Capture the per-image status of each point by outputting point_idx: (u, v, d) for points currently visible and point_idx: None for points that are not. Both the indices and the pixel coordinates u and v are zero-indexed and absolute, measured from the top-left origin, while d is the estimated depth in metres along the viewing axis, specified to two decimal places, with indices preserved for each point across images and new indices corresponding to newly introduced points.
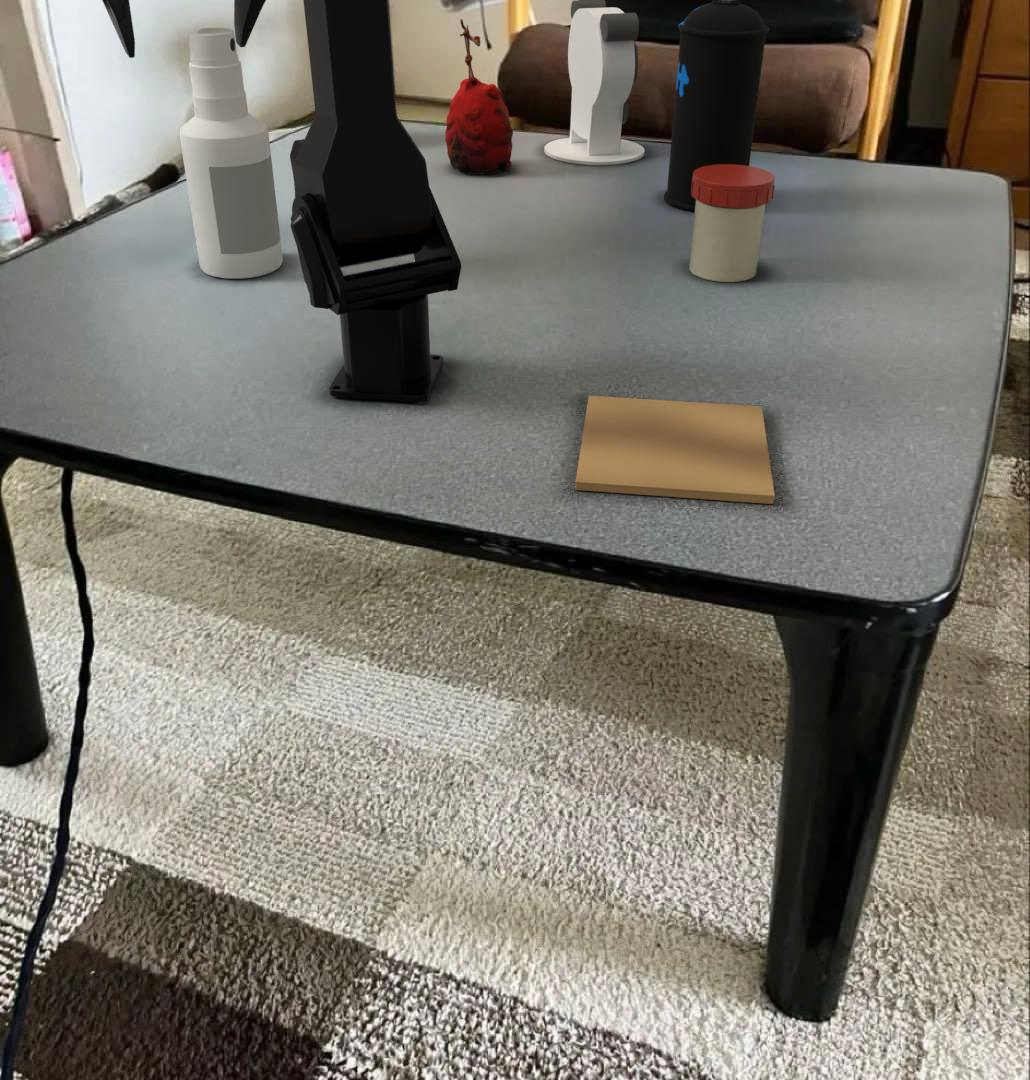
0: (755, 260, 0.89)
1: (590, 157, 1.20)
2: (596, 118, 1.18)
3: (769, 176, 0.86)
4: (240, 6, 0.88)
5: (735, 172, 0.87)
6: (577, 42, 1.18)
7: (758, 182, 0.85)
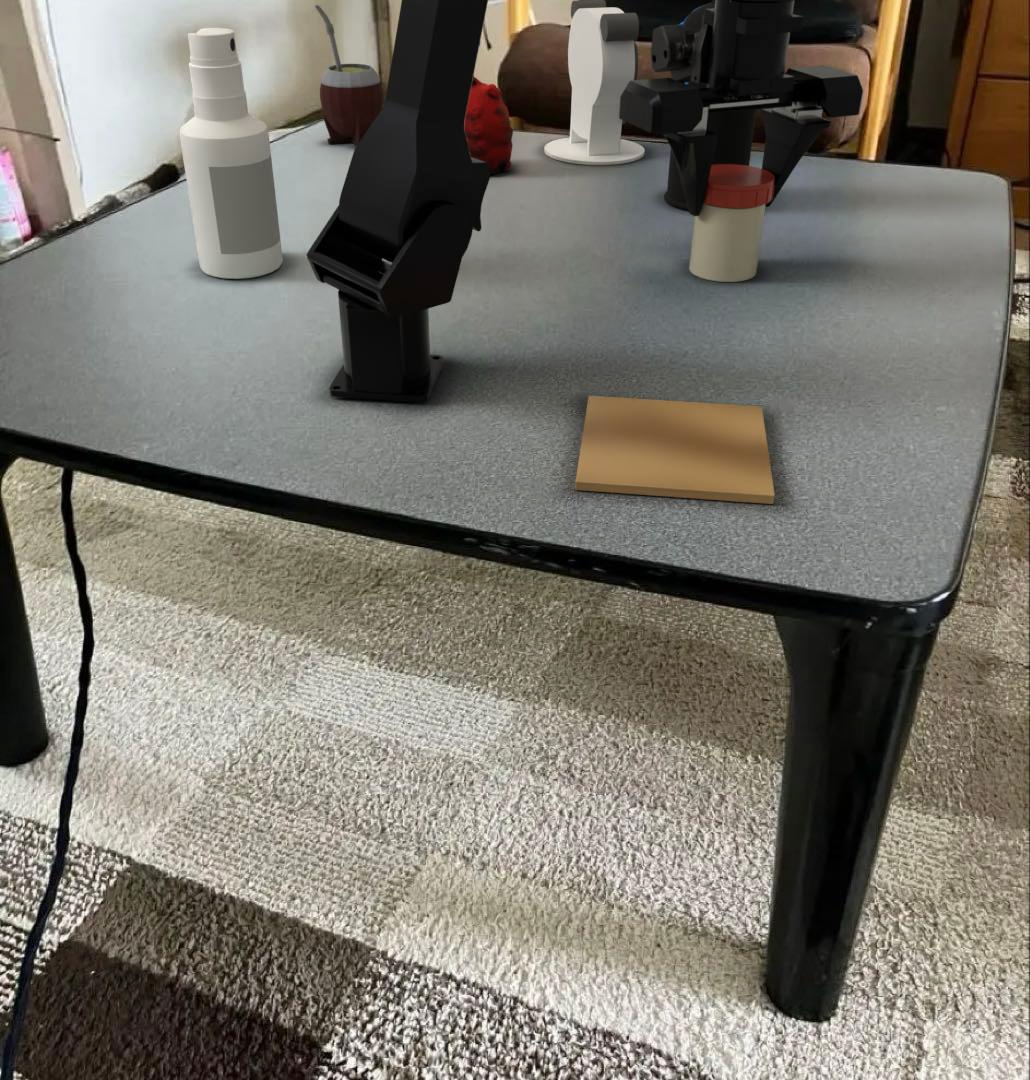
0: (755, 260, 0.89)
1: (590, 157, 1.20)
2: (596, 118, 1.18)
3: (769, 176, 0.86)
4: (771, 166, 0.87)
5: (735, 172, 0.87)
6: (577, 42, 1.18)
7: (758, 182, 0.85)
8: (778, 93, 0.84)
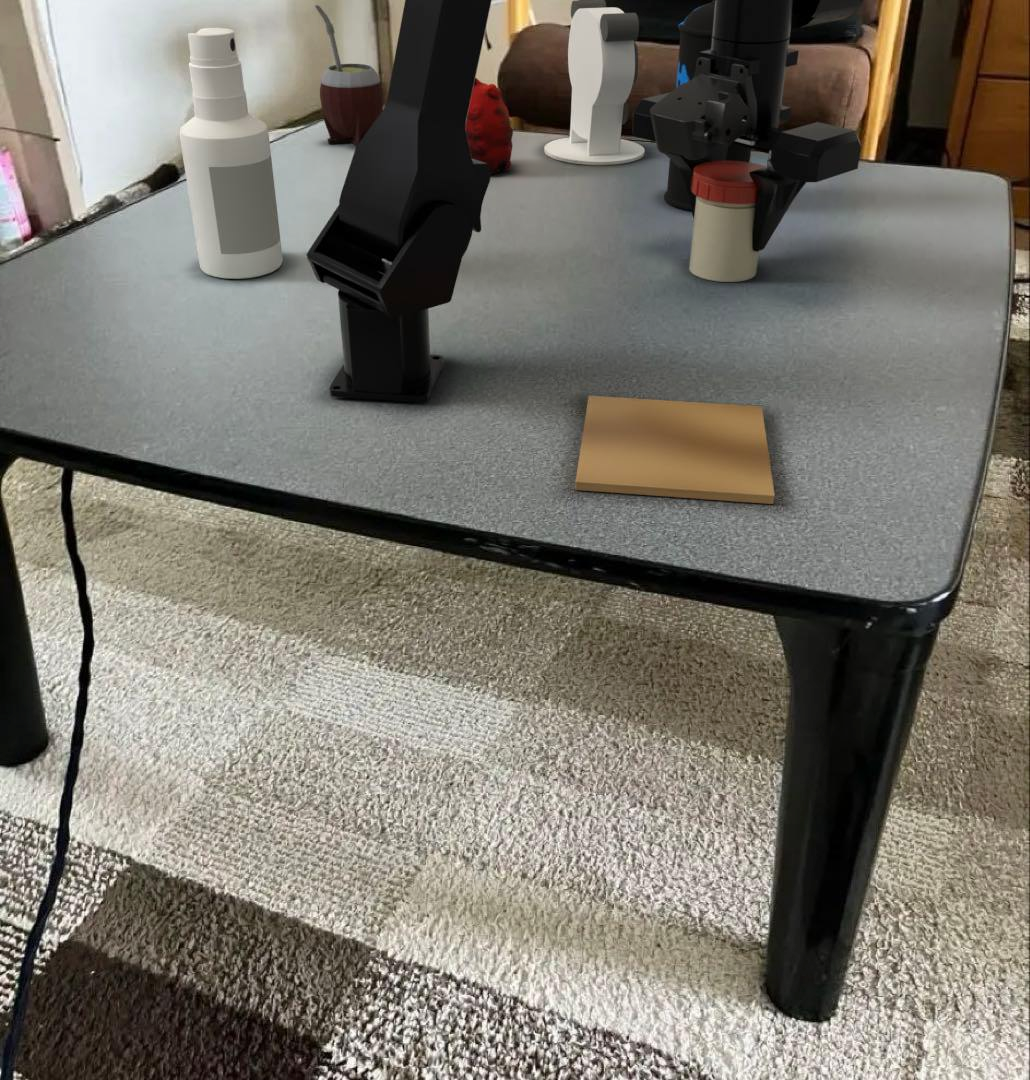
0: (755, 260, 0.89)
1: (590, 157, 1.20)
2: (596, 118, 1.18)
3: (723, 161, 0.89)
4: None
5: (725, 170, 0.86)
6: (577, 42, 1.18)
7: (749, 164, 0.88)
8: None
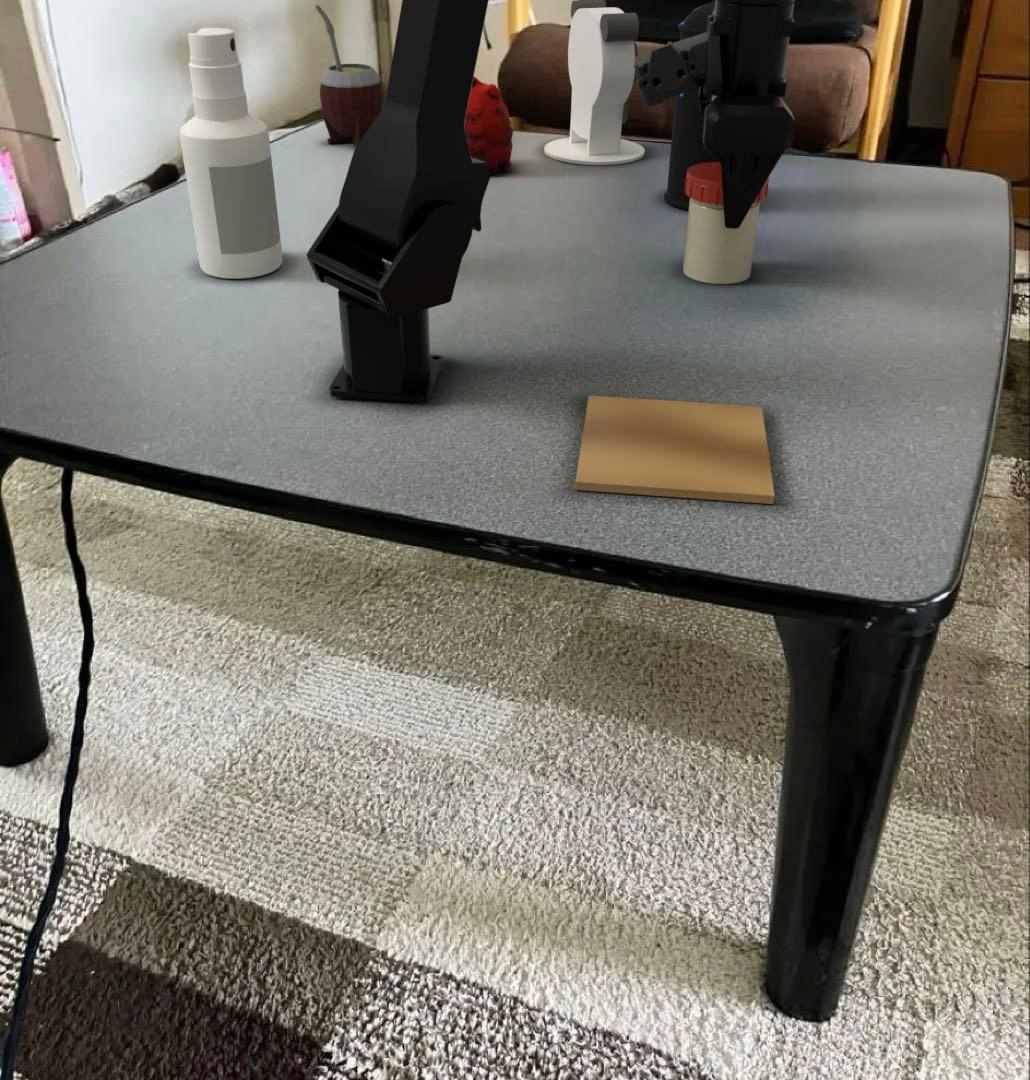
0: (749, 262, 0.88)
1: (590, 157, 1.20)
2: (596, 118, 1.18)
3: (717, 163, 0.88)
4: None
5: (719, 172, 0.86)
6: (577, 42, 1.18)
7: None
8: None
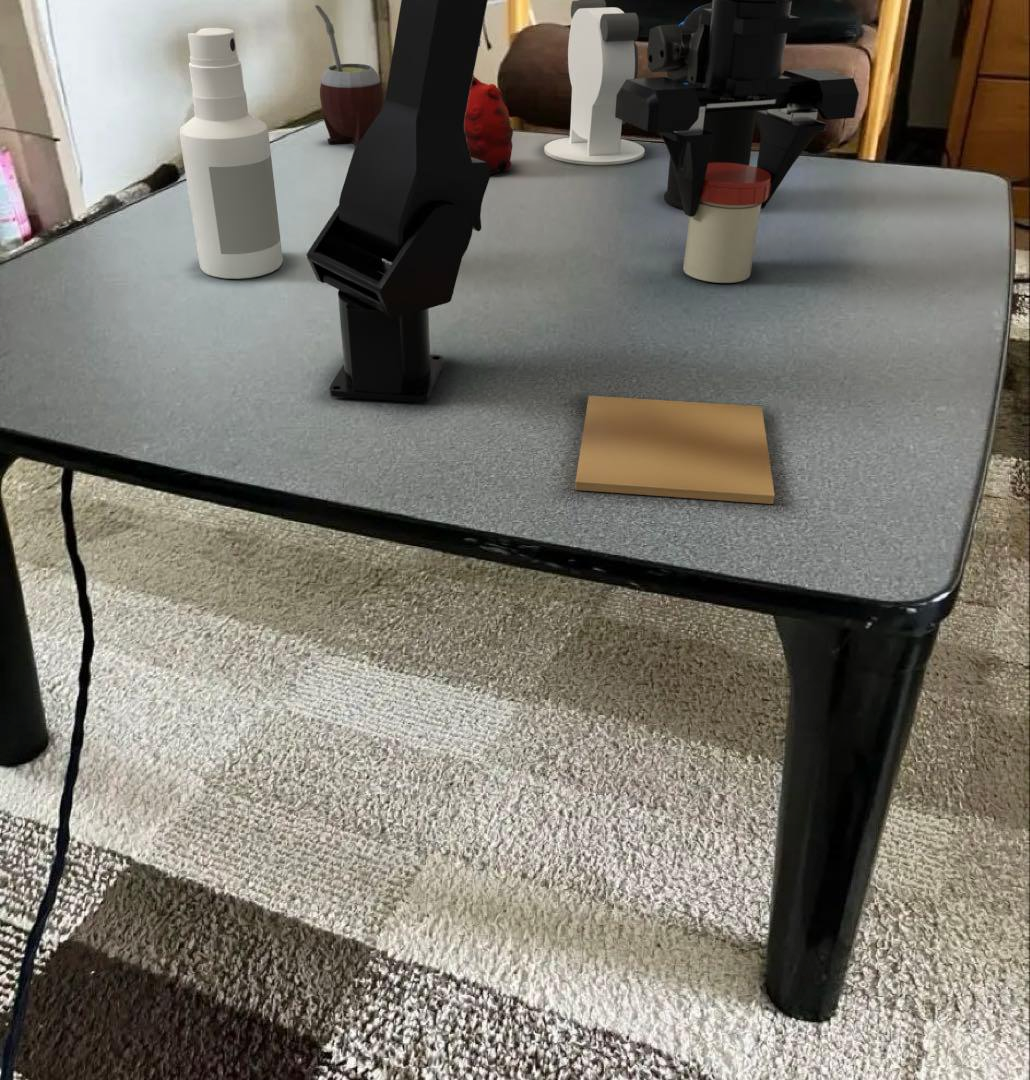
0: (749, 262, 0.88)
1: (590, 157, 1.20)
2: (596, 118, 1.18)
3: (741, 165, 0.88)
4: (766, 168, 0.87)
5: (722, 170, 0.86)
6: (577, 42, 1.18)
7: (760, 171, 0.87)
8: (773, 94, 0.84)
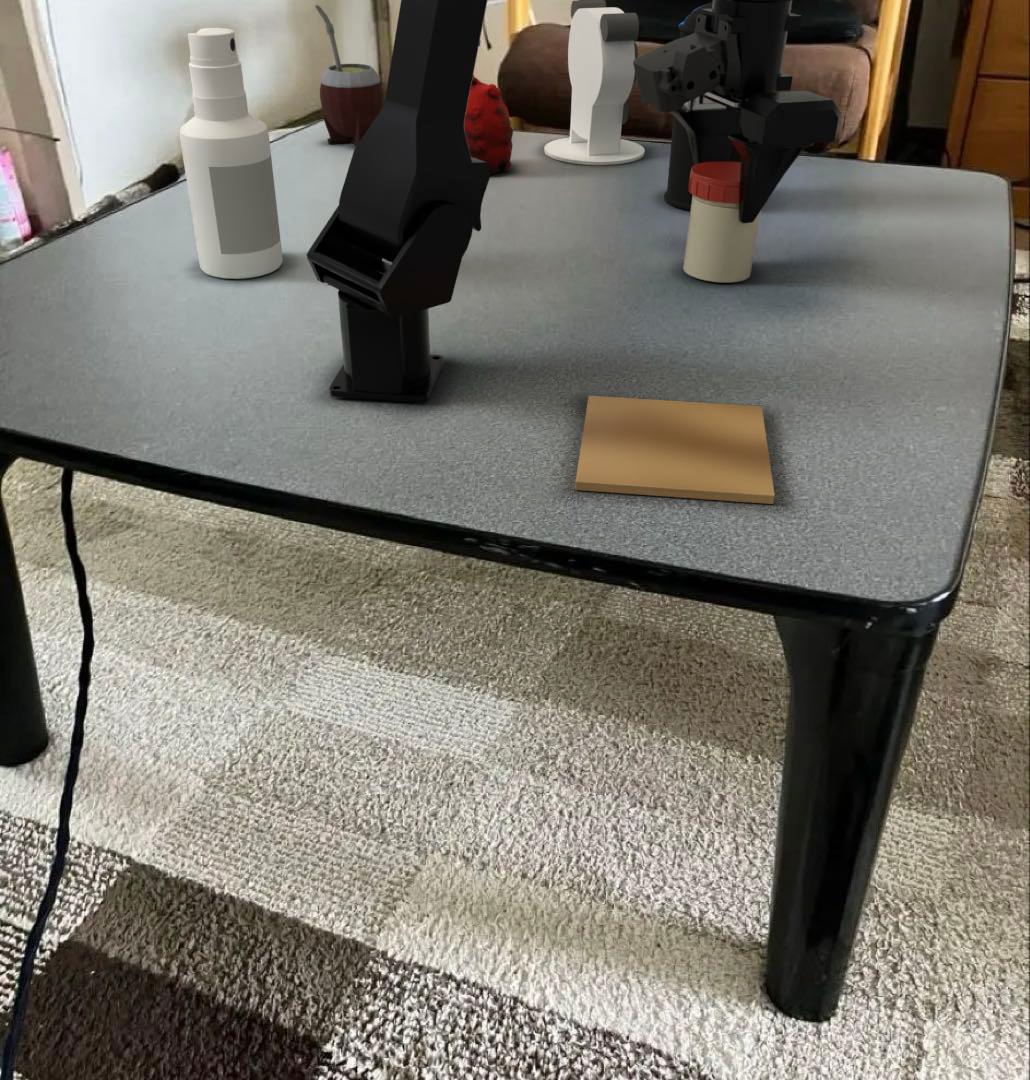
0: (749, 262, 0.88)
1: (590, 157, 1.20)
2: (596, 118, 1.18)
3: (699, 165, 0.87)
4: (713, 159, 0.89)
5: (727, 172, 0.86)
6: (577, 42, 1.18)
7: (719, 162, 0.88)
8: None
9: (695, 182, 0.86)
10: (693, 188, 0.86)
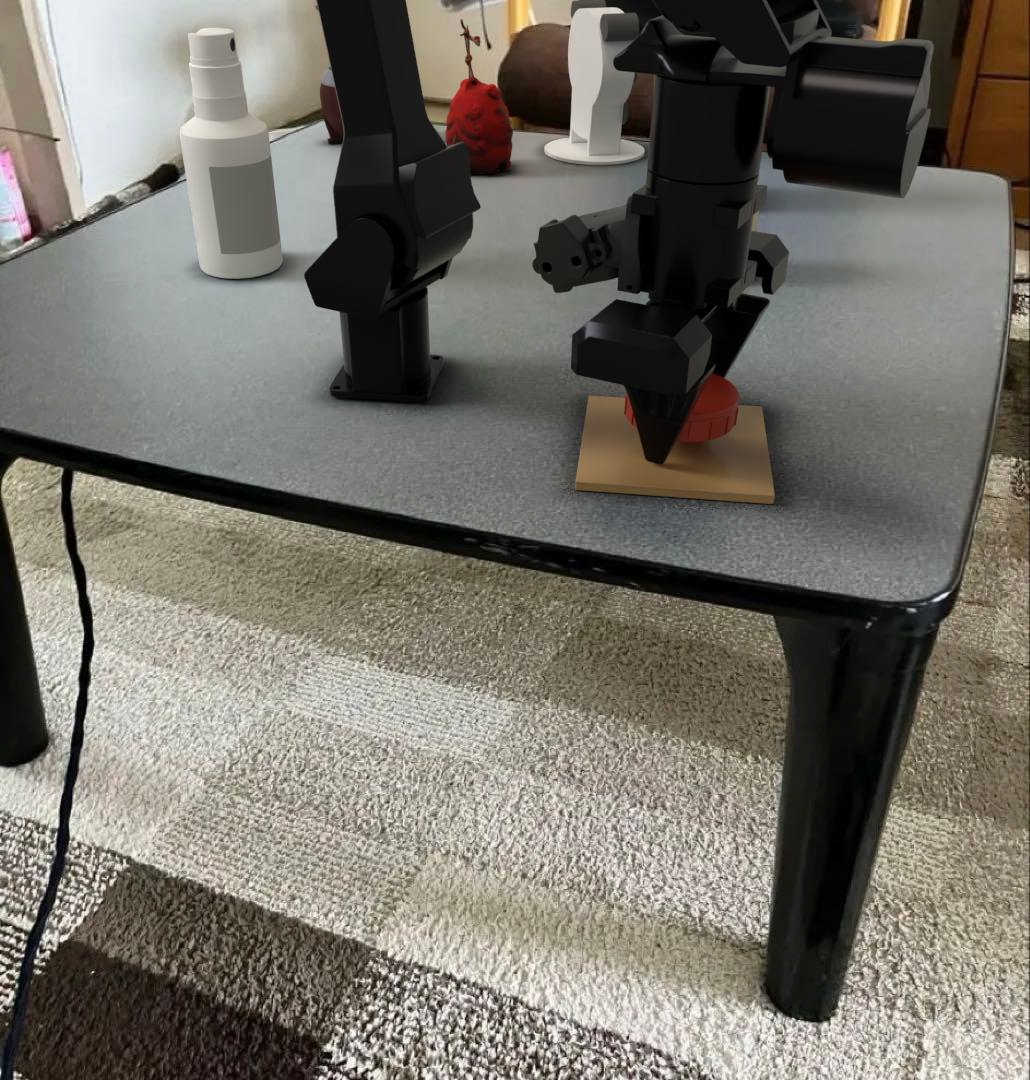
0: None
1: (590, 157, 1.20)
2: (596, 118, 1.18)
3: None
4: None
5: None
6: (577, 42, 1.18)
7: None
8: None
9: None
10: None
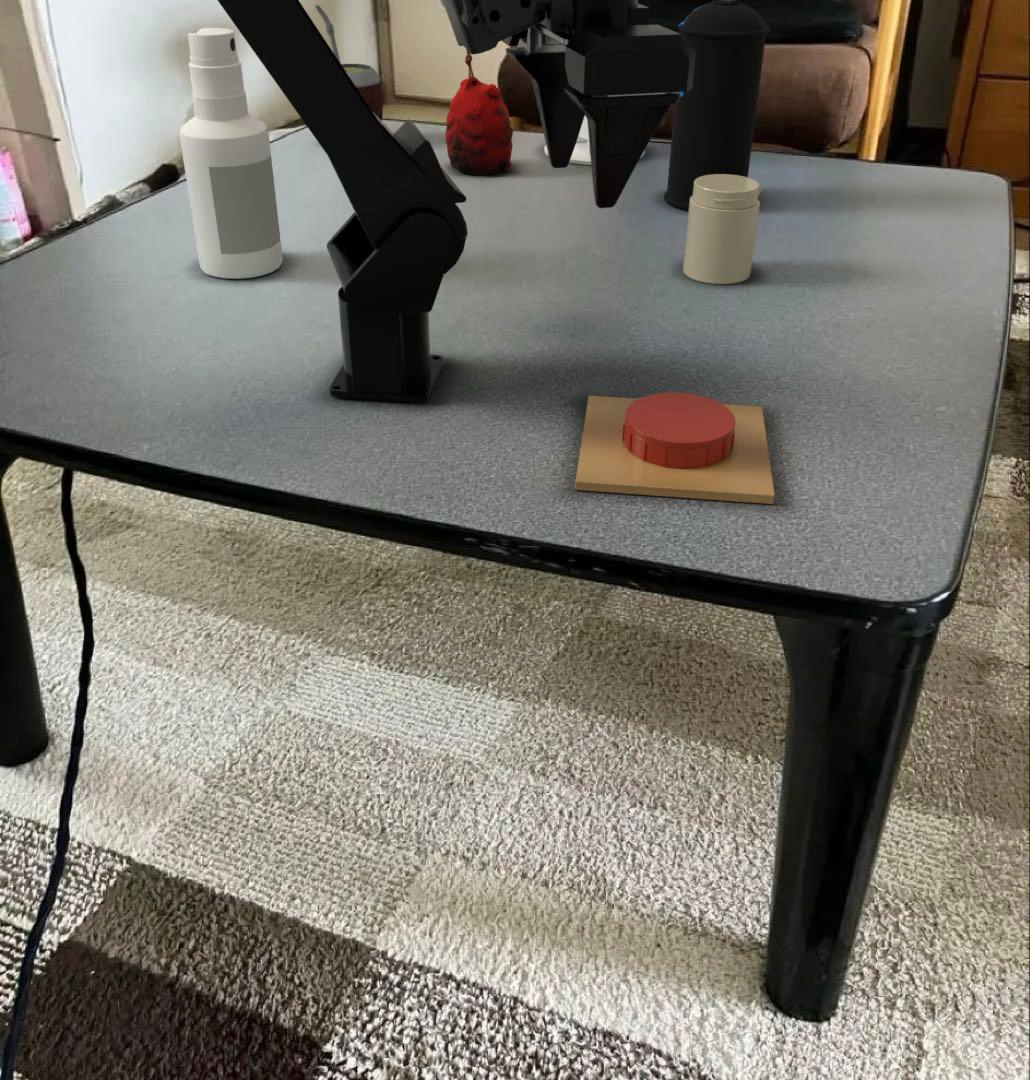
0: (749, 263, 0.88)
1: (590, 157, 1.20)
2: None
3: (665, 395, 0.66)
4: (563, 116, 0.71)
5: (668, 416, 0.64)
6: None
7: (700, 399, 0.65)
8: None
9: None
10: None
